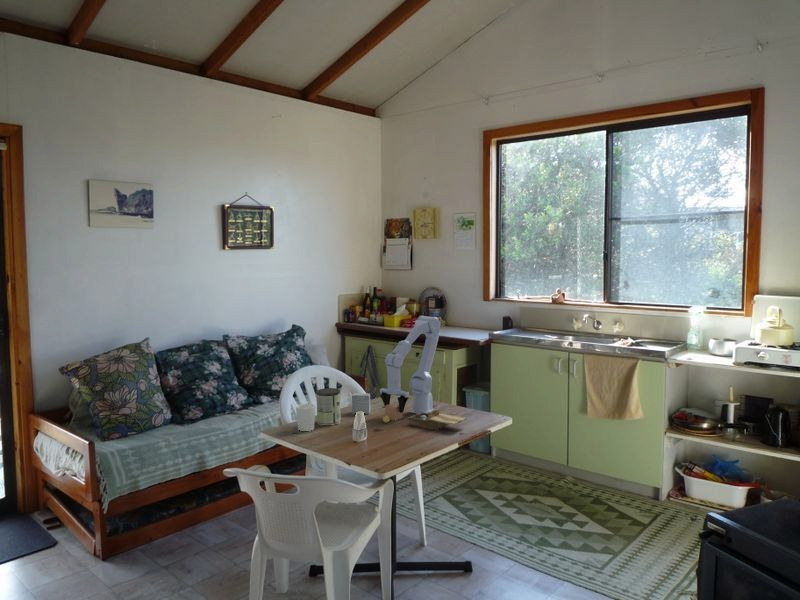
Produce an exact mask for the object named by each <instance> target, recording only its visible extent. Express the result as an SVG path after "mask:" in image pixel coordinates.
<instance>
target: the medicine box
mask: <svg viewBox="0 0 800 600" xmlns="http://www.w3.org/2000/svg"><path fill="white" fill-rule="evenodd" d="M351 406H352V408H351V414H352V415H356V414H355V413H356V412H358V411H363V412H365V414H364V415H370V413H371V412H372V411H371V410H372V409H371V393H366V392H365V393H361V392H360V393H359V392H358V393H356V392H355V393H353V394H352V395H351Z"/></svg>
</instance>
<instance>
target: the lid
mask: <svg viewBox="0 0 800 600" xmlns="http://www.w3.org/2000/svg"><path fill="white" fill-rule="evenodd" d="M425 420H429V421H435V422H440V423H446V424H449V425H452V426H455V425H458V424H460V423H462V422H464V421H466V420H467V417H463V416H458V415H452V414H445V413H440V408H434V410H432V411H430V412H428V418H425Z"/></svg>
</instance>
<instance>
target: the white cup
mask: <svg viewBox="0 0 800 600" xmlns="http://www.w3.org/2000/svg"><path fill="white" fill-rule="evenodd" d="M295 411H296V412H295V413H296V414H295V415H296V423H297V430H298V431H299V430H300V431H299V432H301V431H309V432H312V431H314V430H315V422H316V417H315V416H316V405H315V404H313V403H300V404H298V405H296V406H295ZM311 430H312V431H311Z"/></svg>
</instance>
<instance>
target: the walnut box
mask: <svg viewBox="0 0 800 600" xmlns="http://www.w3.org/2000/svg"><path fill="white" fill-rule="evenodd" d="M422 415H425V416H426V417H427V418H428V413H423V412H421V413H418V414H416V413H415V414H414V415H411V416H408V425H409V426H414V427H419V428H424V429H429V430H433V429H435V430H434V431H438V430H440V429H442V428H445V427H446V425H447V426H449V425H448V424H446V423H440V422H435V421H429V420H423V419H420V417H421V416H422ZM439 428H440V429H439ZM437 429H438V430H437Z"/></svg>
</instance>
